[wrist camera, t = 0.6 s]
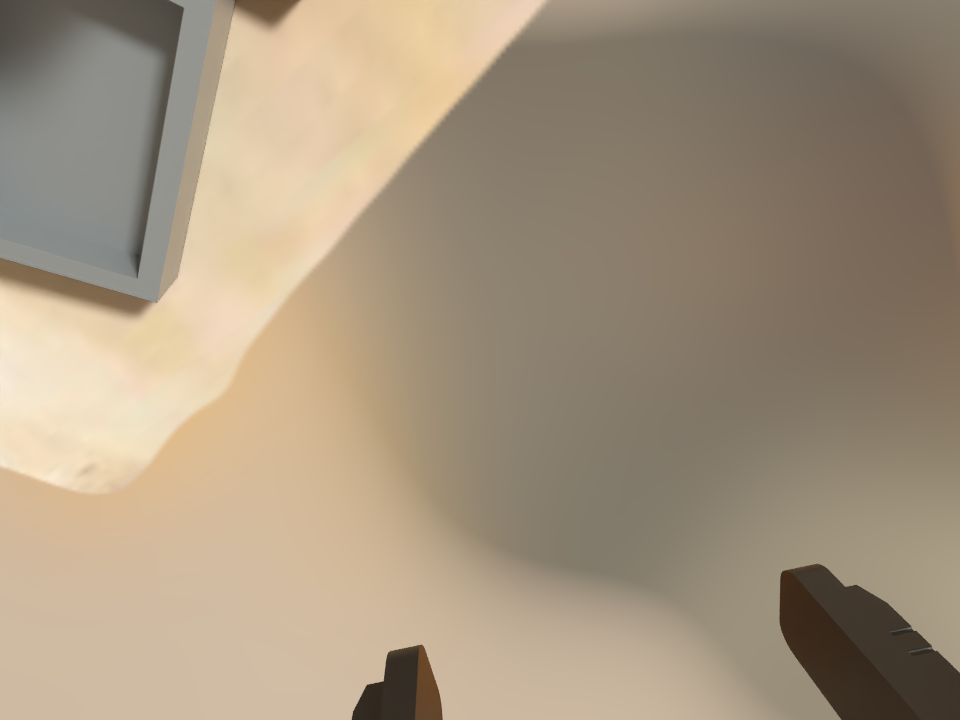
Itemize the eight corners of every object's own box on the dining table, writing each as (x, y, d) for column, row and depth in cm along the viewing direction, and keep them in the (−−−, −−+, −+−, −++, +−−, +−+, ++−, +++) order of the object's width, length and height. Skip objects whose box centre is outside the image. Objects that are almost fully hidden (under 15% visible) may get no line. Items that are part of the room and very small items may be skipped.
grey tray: (-33, 212, 29) (-84, 233, 26) (-31, -141, 22) (-100, -173, 19) (177, 277, 34) (156, 302, 30) (235, 0, 26) (217, -6, 23)
